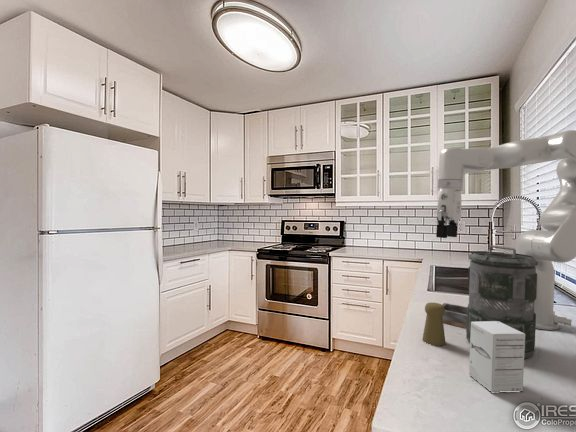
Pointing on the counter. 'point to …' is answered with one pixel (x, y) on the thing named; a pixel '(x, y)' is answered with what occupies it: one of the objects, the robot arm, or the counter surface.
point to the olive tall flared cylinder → (434, 324)
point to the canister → (503, 292)
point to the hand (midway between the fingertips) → (446, 237)
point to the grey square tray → (455, 315)
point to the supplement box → (497, 356)
